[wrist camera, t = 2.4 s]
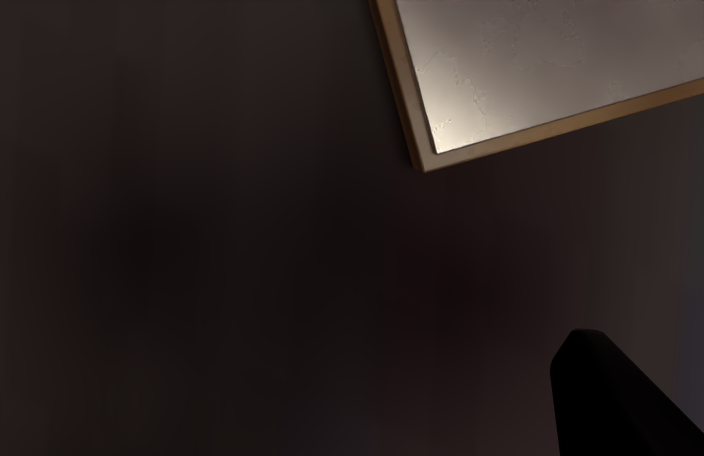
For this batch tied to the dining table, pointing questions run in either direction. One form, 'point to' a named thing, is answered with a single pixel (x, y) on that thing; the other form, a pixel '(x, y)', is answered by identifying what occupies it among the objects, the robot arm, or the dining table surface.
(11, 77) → the dining table surface
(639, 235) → the dining table surface
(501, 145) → the stand
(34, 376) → the dining table surface
